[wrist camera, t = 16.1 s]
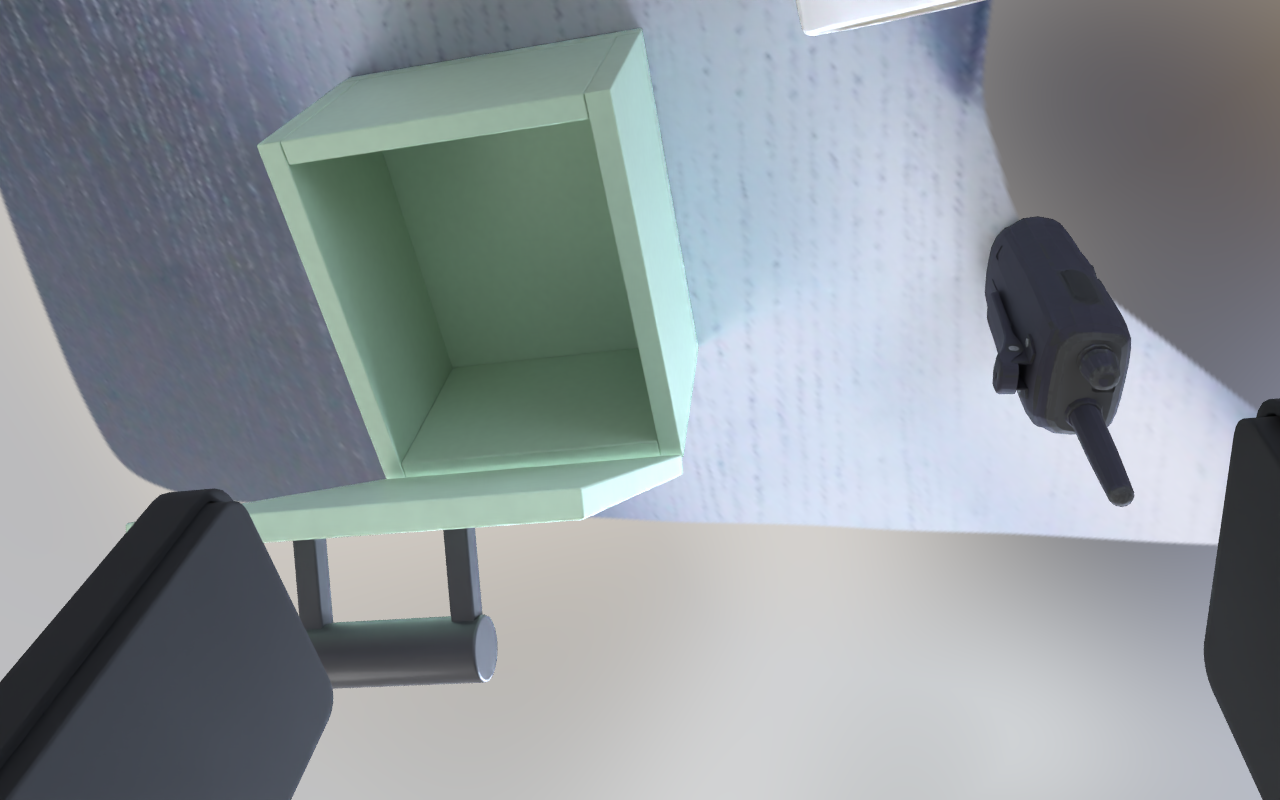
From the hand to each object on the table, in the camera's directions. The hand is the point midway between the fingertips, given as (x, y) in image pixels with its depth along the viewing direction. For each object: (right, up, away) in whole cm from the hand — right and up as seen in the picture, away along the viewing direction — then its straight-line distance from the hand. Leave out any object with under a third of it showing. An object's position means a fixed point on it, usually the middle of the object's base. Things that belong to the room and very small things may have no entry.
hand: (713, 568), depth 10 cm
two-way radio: (+15, +7, +34) cm, 38 cm away
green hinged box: (-6, +10, +36) cm, 37 cm away
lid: (-7, -1, +24) cm, 25 cm away
